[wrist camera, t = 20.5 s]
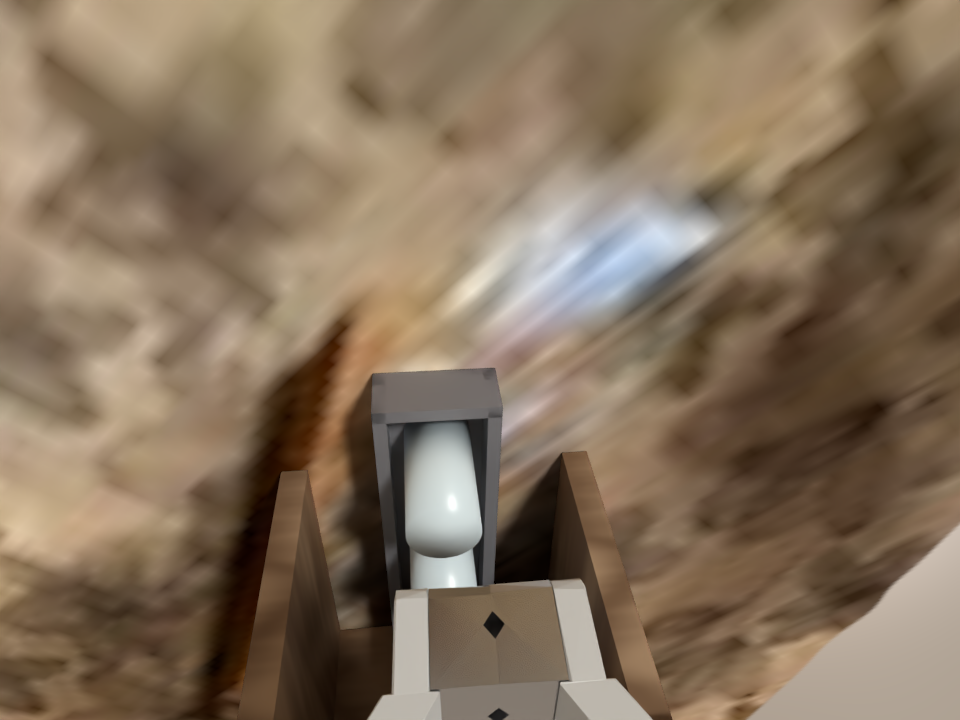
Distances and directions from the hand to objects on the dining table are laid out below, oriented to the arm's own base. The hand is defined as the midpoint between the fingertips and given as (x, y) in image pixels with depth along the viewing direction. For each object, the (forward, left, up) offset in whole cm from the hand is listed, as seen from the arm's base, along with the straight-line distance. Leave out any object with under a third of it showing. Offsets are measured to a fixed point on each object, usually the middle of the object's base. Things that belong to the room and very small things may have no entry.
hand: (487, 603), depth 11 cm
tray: (0, +22, -22) cm, 32 cm away
